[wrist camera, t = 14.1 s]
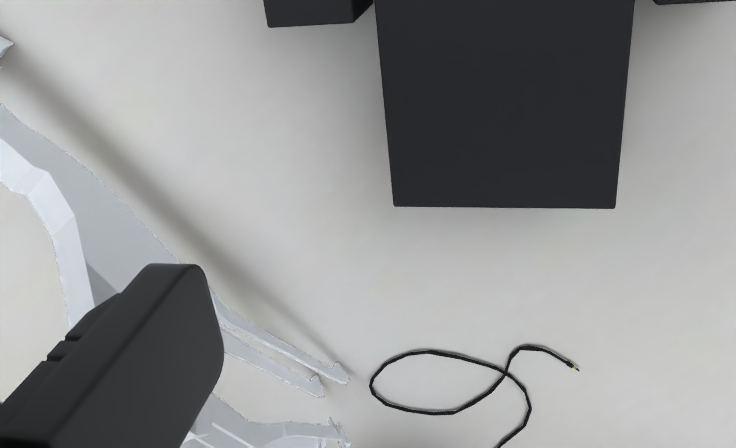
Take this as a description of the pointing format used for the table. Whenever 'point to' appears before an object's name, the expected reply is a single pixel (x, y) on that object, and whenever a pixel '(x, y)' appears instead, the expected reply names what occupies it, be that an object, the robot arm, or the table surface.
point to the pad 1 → (346, 11)
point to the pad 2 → (504, 101)
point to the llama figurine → (122, 264)
